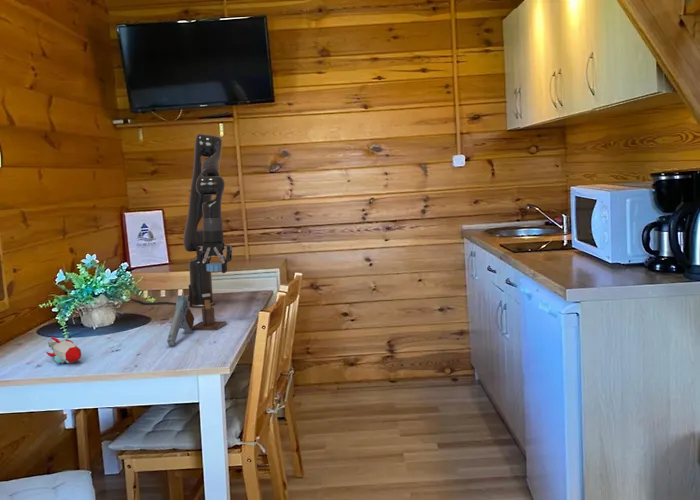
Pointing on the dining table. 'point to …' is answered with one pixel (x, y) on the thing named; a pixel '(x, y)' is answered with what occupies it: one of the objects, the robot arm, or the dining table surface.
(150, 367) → the dining table surface
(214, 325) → the stand
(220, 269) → the ring
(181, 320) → the handgun
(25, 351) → the dining table surface
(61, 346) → the toy
